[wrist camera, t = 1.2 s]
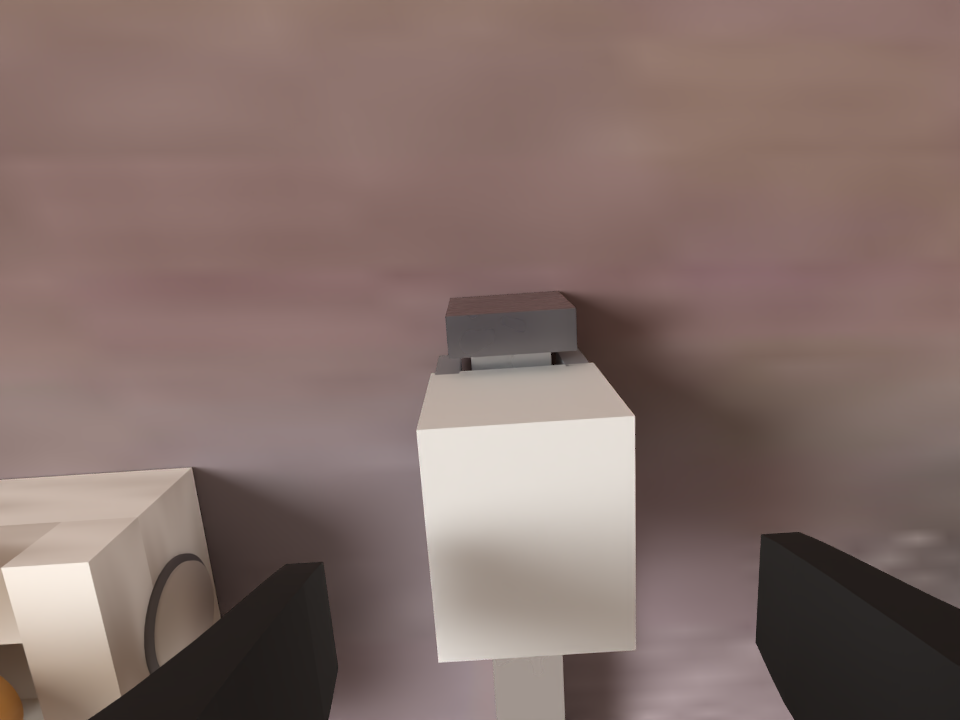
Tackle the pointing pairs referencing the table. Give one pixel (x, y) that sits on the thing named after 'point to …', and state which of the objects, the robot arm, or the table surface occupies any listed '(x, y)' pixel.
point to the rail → (511, 344)
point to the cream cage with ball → (98, 585)
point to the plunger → (9, 702)
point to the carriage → (529, 510)
